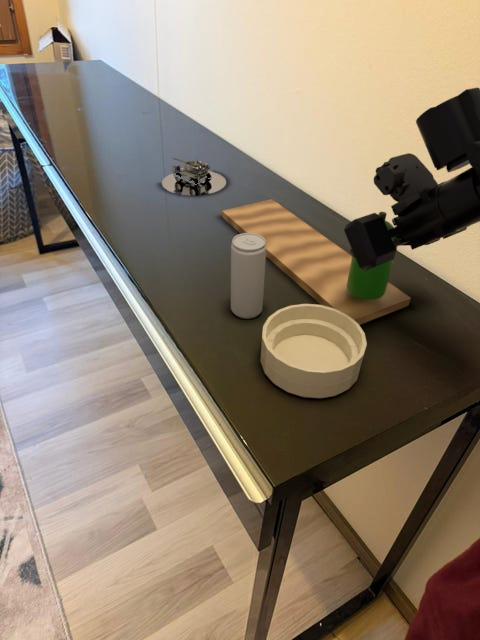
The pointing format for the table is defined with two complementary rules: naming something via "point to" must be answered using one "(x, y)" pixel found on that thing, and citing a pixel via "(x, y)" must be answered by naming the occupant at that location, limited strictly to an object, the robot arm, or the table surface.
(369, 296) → the green spray can
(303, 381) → the bowl
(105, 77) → the table surface
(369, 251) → the robot arm
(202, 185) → the grey wheeled model
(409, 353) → the table surface
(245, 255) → the beverage can
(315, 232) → the cutting board
